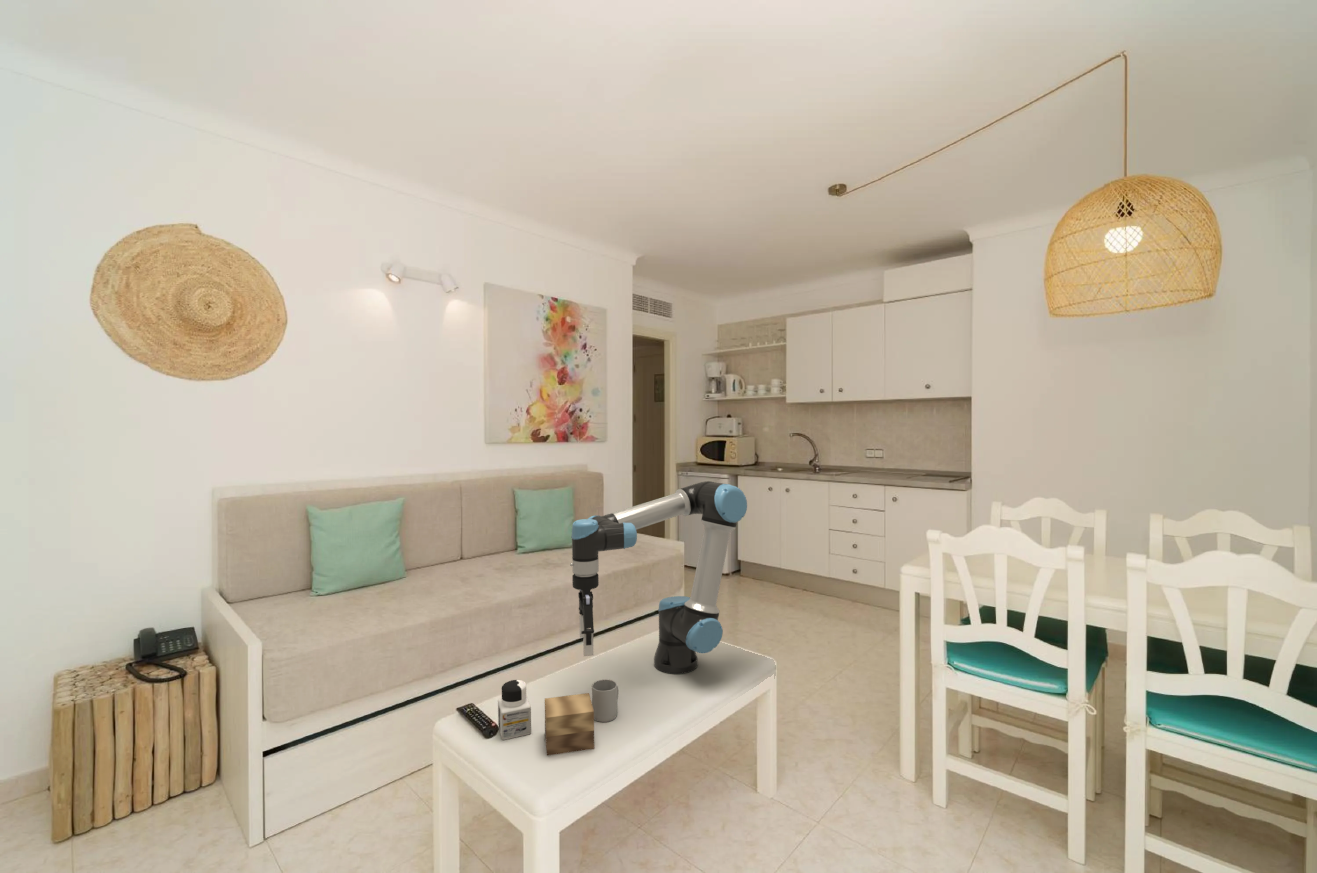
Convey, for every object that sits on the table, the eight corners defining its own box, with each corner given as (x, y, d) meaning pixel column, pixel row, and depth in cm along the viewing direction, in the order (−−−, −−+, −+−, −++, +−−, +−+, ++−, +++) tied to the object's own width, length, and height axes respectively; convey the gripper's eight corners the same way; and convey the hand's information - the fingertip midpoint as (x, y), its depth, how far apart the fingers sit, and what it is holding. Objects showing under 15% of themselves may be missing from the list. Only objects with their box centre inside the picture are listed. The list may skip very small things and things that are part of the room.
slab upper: (589, 710, 153) (589, 693, 153) (594, 730, 143) (593, 711, 143) (544, 716, 150) (544, 698, 150) (546, 737, 140) (546, 717, 140)
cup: (586, 718, 158) (586, 687, 158) (607, 702, 167) (607, 673, 166) (607, 725, 154) (607, 693, 154) (627, 709, 163) (627, 679, 163)
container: (502, 740, 147) (501, 692, 147) (498, 726, 154) (497, 680, 154) (531, 734, 150) (530, 686, 150) (526, 720, 157) (525, 674, 157)
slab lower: (589, 728, 153) (589, 711, 153) (594, 749, 143) (594, 730, 143) (545, 735, 150) (544, 716, 150) (546, 756, 141) (546, 737, 140)
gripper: (569, 563, 173) (570, 630, 173) (575, 587, 148) (576, 665, 149) (593, 561, 174) (594, 628, 175) (603, 585, 150) (604, 662, 151)
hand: (586, 645), depth 162 cm, fingers open, 13 cm apart
